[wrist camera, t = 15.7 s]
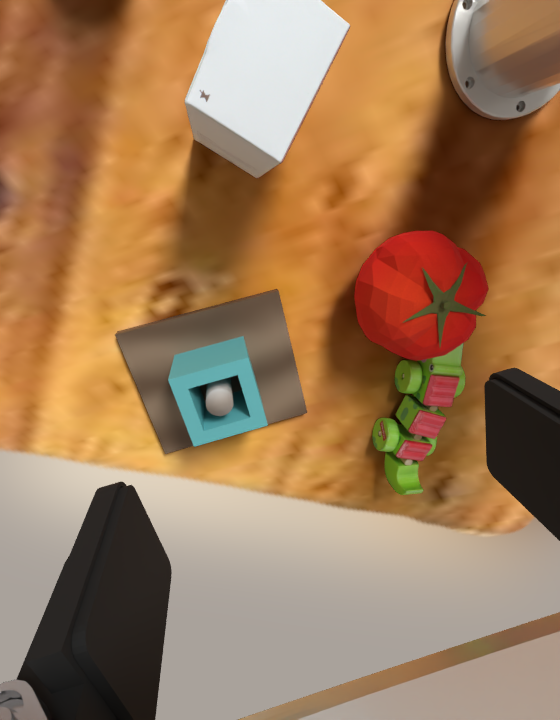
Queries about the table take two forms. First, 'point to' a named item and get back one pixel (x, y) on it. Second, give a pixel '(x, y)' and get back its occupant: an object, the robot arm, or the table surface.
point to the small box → (261, 78)
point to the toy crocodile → (418, 416)
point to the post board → (207, 327)
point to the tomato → (419, 295)
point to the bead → (209, 368)
